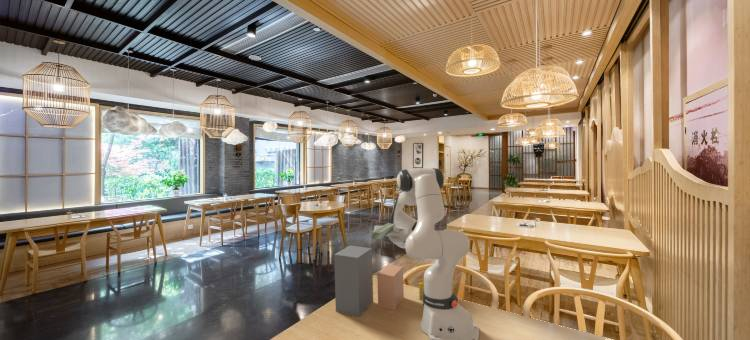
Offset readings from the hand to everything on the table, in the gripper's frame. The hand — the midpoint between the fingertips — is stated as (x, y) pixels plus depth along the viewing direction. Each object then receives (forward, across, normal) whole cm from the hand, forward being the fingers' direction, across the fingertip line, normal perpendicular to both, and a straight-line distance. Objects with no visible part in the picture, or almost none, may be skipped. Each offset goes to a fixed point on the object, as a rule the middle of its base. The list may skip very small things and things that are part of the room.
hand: (388, 227), depth 141 cm
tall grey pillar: (-1, -10, +38) cm, 40 cm away
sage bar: (+4, 0, +4) cm, 6 cm away
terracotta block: (-10, +4, +33) cm, 35 cm away
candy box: (-20, +23, +28) cm, 41 cm away
